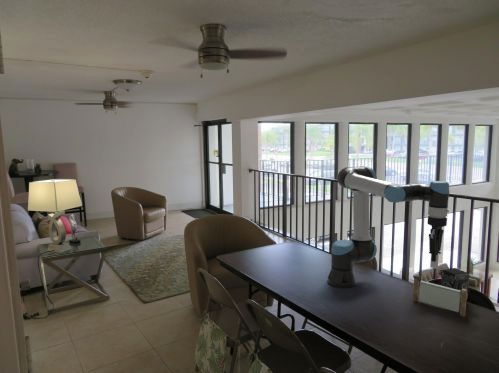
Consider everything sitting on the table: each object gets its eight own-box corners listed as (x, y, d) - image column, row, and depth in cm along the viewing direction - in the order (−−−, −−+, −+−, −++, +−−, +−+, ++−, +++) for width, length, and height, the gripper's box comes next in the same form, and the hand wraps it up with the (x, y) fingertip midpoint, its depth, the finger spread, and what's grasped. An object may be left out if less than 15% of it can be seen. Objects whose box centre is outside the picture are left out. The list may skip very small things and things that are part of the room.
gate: (419, 300, 171) (420, 281, 170) (420, 299, 172) (421, 280, 171) (458, 312, 159) (459, 291, 158) (459, 310, 160) (460, 290, 159)
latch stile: (459, 315, 159) (461, 289, 157) (461, 313, 160) (463, 288, 159) (464, 316, 157) (466, 291, 156) (465, 314, 159) (467, 289, 158)
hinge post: (410, 300, 173) (412, 276, 171) (413, 298, 175) (414, 274, 174) (417, 302, 171) (418, 277, 169) (419, 300, 173) (421, 276, 171)
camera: (455, 306, 167) (457, 276, 165) (438, 297, 177) (440, 268, 175) (472, 303, 169) (475, 274, 167) (454, 294, 179) (456, 266, 178)
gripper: (442, 220, 146) (438, 273, 150) (451, 215, 156) (447, 266, 159) (423, 217, 152) (420, 269, 155) (433, 212, 161) (429, 262, 164)
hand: (433, 267), depth 157 cm, fingers closed
